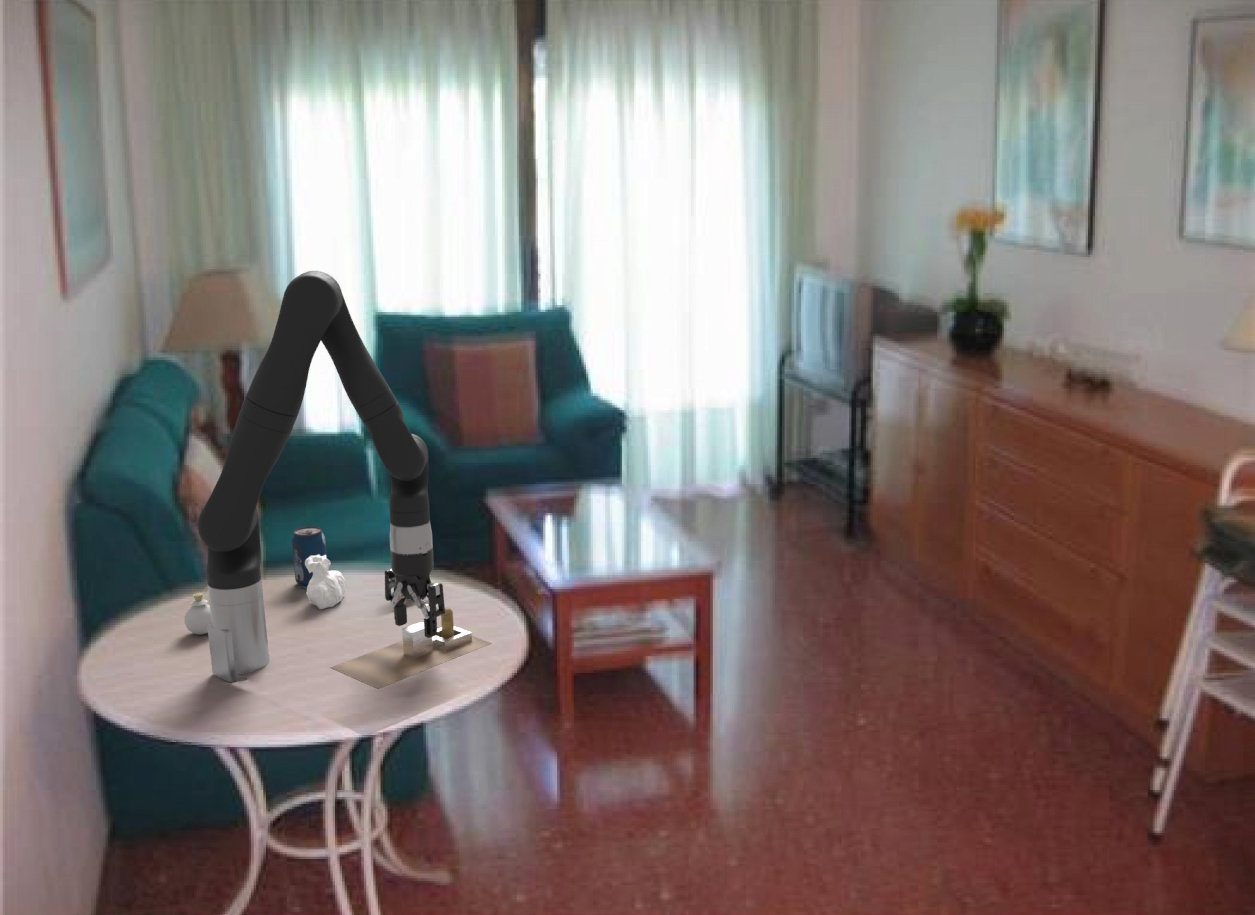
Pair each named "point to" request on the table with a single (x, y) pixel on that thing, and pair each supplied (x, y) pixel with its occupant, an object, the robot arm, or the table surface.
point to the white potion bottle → (198, 615)
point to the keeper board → (404, 659)
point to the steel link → (430, 640)
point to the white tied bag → (324, 583)
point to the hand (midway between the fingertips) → (415, 630)
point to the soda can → (306, 551)
